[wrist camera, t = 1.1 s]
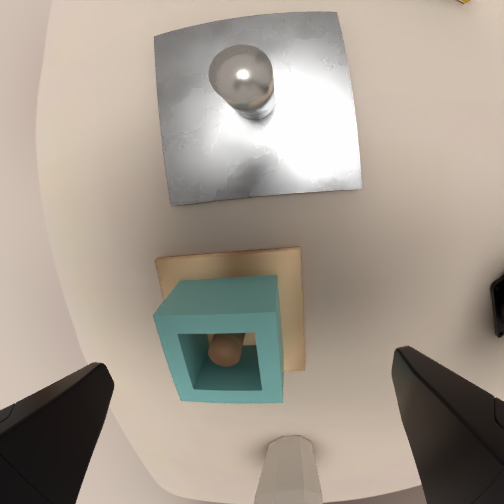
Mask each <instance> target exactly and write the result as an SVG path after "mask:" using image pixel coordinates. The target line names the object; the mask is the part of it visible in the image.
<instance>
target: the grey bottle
mask: <svg viewBox="0 0 504 504" xmlns="http://www.w3.org/2000/svg"><path fill="white" fill-rule="evenodd" d="M254 504H323V501H322V492H321V487H320V482H319V477H318V472H317V467H316V462H315V457H314V453H313V448H312V443H311V441H309V440H307V439H305V438H303V437H301V436H287V437H281V438H279V439H277V440H275V441H273V442H271V443H269V446H268V450H267V454H266V458H265V462H264V466H263V469H262V473H261V477H260V481H259V484H258V488H257V492H256V495H255V501H254Z"/></svg>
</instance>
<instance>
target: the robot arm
mask: <svg viewBox="0 0 504 504" xmlns="http://www.w3.org/2000/svg"><path fill="white" fill-rule="evenodd" d="M496 287H497V288H496ZM491 294H492V301H493V310H494V320H495V333H496V336H497V337H498V338H500V337H502V336H503V335H504V276H502V277H501V278H500V279H498V280H497V281H496V282H494V283H493V285H492V287H491ZM392 379H393V383H394V388H395V392H396V396H397V401H398V405H399V410H400V414H401V419H402V422H403V425H404V428H405V431H406V434H407V437H408V440H409V443H410V447H411V450H412V453H413V456H414V459H415V463H416V466H417V469H418V473H419V476H420V480H421V483H422V486H423V490H424V494H425V497H426V502H427V504H504V402H503V401H502V400H500V399H498V398H497V397H496V398H495V397H494V396H493V395H491V394H490V393H488V392H486V391H485V390H483V389H481V388H480V387H478V386H476V385H475V384H473V383H471V382H469V381H468V380H466V379H464V378H463V377H461V376H459V375H458V374H456V373H454V372H453V371H451V370H449V369H447V368H446V367H444V366H442V365H441V364H439V363H437V362H436V361H434V360H432V359H431V358H429V357H427V356H426V355H424V354H422V353H420V352H419V351H417V350H415V349H414V348H412V347H410V346H404V347H399V348H397V349H395V352H394V358H393V365H392ZM113 390H114V381H113V379H112V377H111V375H110V373H109V371H108V369H107V367H106V365H105V364H103V363H97V362H93V363H91V364H89V365H87V366H85V367H84V368H82V369H80V370H78V371H76V372H74V373H72V374H70V375H68V376H66V377H65V378H63V379H61V380H59V381H57V382H55V383H53V384H51V385H50V386H47V387H45V388H44V389H42V390H40V391H38V392H36V393H34V394H32V395H30V396H28V397H26V398H24V399H22V400H20V401H18V402H17V403H16V404H12V405H10V406H9V407H6V408H4V409H2V410H0V504H75V503H76V500H77V497H78V494H79V491H80V488H81V485H82V482H83V479H84V476H85V473H86V470H87V468H88V465H89V462H90V459H91V456H92V454H93V451H94V448H95V446H96V443H97V440H98V438H99V435H100V433H101V430H102V427H103V424H104V421H105V418H106V414H107V411H108V407H109V404H110V400H111V397H112V393H113Z"/></svg>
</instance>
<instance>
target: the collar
mask: <svg viewBox="0 0 504 504" xmlns="http://www.w3.org/2000/svg"><path fill="white" fill-rule="evenodd" d="M153 317H154V321H155V324H156V328H157V331H158V334H159V338H160V341H161V344H162V347H163V351H164V354H165V357H166V360H167V363H168V366H169V369H170V372H171V375H172V378H173V381H174V383H175V386H176V389H177V392H178V395H179V397H180V400H181V401H192V402H210V403H283V371H284V353H283V339H282V326H281V313H280V300H279V288H278V276H277V275H264V276H249V277H233V278H216V279H199V280H180V281H179V282H178V284H177V285H176V286H175V287H174V289H173V290H172V291H171V293H170V294H169V295H168V296H167V298H166V299H165V300H164V302H163V303H162V304H161V306H160V307H159V308H158V309H157V311H156V312H155V313H154V315H153ZM252 332H255V339H256V345H243V346H242V351H241V356H240V360H239V361H238V362H237V363H236V364H235V365H233V366H229V367H224V366H220V365H217V364H215V363H214V362H213V361H212V360H211V359H210V358H209V355H208V349H209V341H208V336H207V334H217V333H252Z"/></svg>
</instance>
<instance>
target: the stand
mask: <svg viewBox="0 0 504 504" xmlns="http://www.w3.org/2000/svg"><path fill="white" fill-rule="evenodd" d="M155 263H156V268H157V272H158V277H159V281H160V285H161V290H162V294H163V298H164V300H165V299H166V298H167V296H168V295H169V294H170V293H171V291H172V290H173V289H174V287H175V286H176V285H177V284H178V282H179V281H180V280H199V279H216V278H233V277H249V276H264V275H277V276H278V288H279V300H280V313H281V326H282V339H283V353H284V371H283V372H286V371H303V370H305V349H304V316H303V292H302V272H301V255H300V247H292V248H279V249H265V250H252V251H239V252H226V253H213V254H200V255H187V256H175V257H162V258H157V259H156V260H155ZM207 336H208V341H209V349H208V355H209V358H210V359H211V360H212V361H213V362H214V363H215V364H217V365H220V366H224V367H229V366H233V365H235V364H236V363H237V362H238V361H239V360H240V356H241V351H242V346H243V345H256V339H255V332H252V333H217V334H207Z"/></svg>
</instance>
